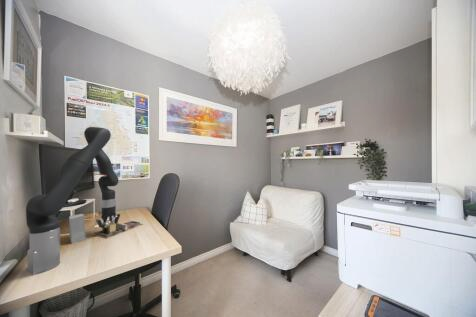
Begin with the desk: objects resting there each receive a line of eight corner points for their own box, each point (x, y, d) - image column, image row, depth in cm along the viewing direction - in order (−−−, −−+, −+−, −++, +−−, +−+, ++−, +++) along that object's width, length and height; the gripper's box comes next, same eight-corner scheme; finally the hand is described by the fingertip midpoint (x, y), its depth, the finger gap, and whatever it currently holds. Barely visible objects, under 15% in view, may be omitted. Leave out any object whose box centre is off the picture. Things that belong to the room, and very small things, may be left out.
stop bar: (115, 232, 111) (115, 223, 111) (110, 234, 108) (110, 225, 108) (107, 230, 114) (107, 221, 114) (101, 232, 111) (101, 223, 111)
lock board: (106, 240, 102) (106, 232, 102) (91, 236, 109) (91, 228, 109) (143, 225, 125) (143, 218, 125) (129, 222, 132) (129, 216, 132)
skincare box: (86, 241, 101) (86, 215, 101) (69, 246, 96) (69, 218, 96) (84, 237, 107) (84, 212, 107) (68, 241, 102) (68, 215, 102)
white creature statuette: (103, 223, 130) (103, 208, 130) (114, 223, 130) (114, 208, 131) (93, 228, 121) (93, 212, 121) (106, 228, 121) (105, 211, 121)
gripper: (99, 209, 103) (99, 237, 103) (123, 203, 116) (123, 228, 116) (92, 208, 106) (92, 235, 106) (116, 202, 119) (116, 227, 119)
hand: (108, 231), depth 111 cm, fingers closed on stop bar, 3 cm apart
